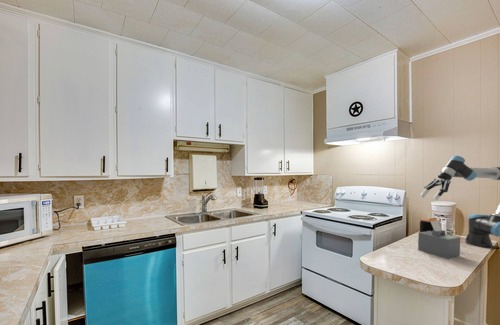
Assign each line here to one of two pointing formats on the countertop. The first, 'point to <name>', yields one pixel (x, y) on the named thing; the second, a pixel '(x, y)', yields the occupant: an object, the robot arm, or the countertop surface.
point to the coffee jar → (425, 225)
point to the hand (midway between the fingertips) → (428, 197)
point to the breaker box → (439, 244)
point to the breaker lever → (435, 225)
